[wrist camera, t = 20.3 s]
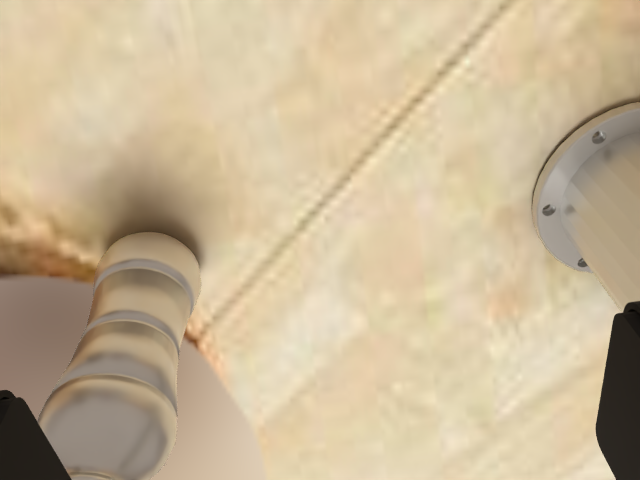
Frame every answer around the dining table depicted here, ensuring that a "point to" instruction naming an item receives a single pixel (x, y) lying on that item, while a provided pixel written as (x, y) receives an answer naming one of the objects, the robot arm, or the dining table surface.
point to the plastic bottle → (126, 363)
